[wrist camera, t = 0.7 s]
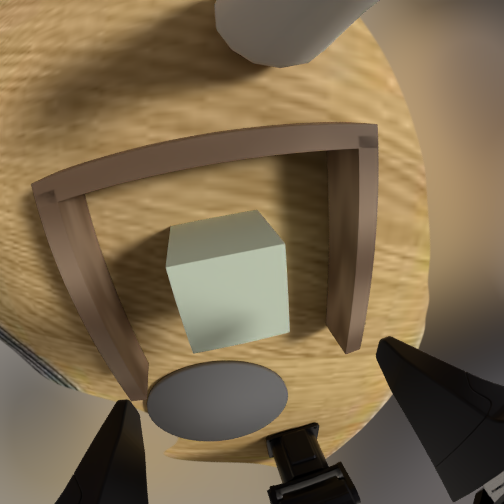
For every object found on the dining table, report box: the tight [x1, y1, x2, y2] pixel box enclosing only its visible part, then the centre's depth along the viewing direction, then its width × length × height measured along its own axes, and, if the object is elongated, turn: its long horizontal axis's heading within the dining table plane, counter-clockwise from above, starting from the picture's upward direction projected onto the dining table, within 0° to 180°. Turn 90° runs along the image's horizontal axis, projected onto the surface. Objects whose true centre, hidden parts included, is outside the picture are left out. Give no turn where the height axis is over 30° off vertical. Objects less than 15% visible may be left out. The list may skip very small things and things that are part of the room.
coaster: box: [147, 361, 288, 441], centre depth 23 cm, size 13×13×1 cm
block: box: [166, 210, 290, 353], centre depth 15 cm, size 5×5×5 cm
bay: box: [31, 122, 378, 401], centre depth 15 cm, size 15×16×4 cm
